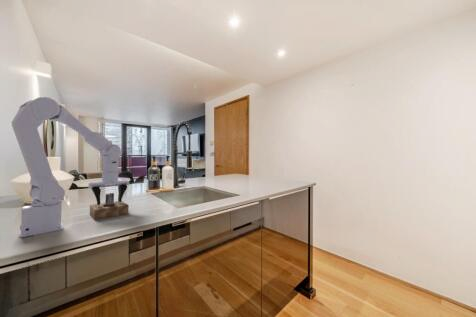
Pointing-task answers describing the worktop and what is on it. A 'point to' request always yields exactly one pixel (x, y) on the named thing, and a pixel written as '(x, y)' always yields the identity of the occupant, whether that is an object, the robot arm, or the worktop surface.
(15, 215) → the worktop surface
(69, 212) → the worktop surface
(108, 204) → the peg
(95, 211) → the hole block
